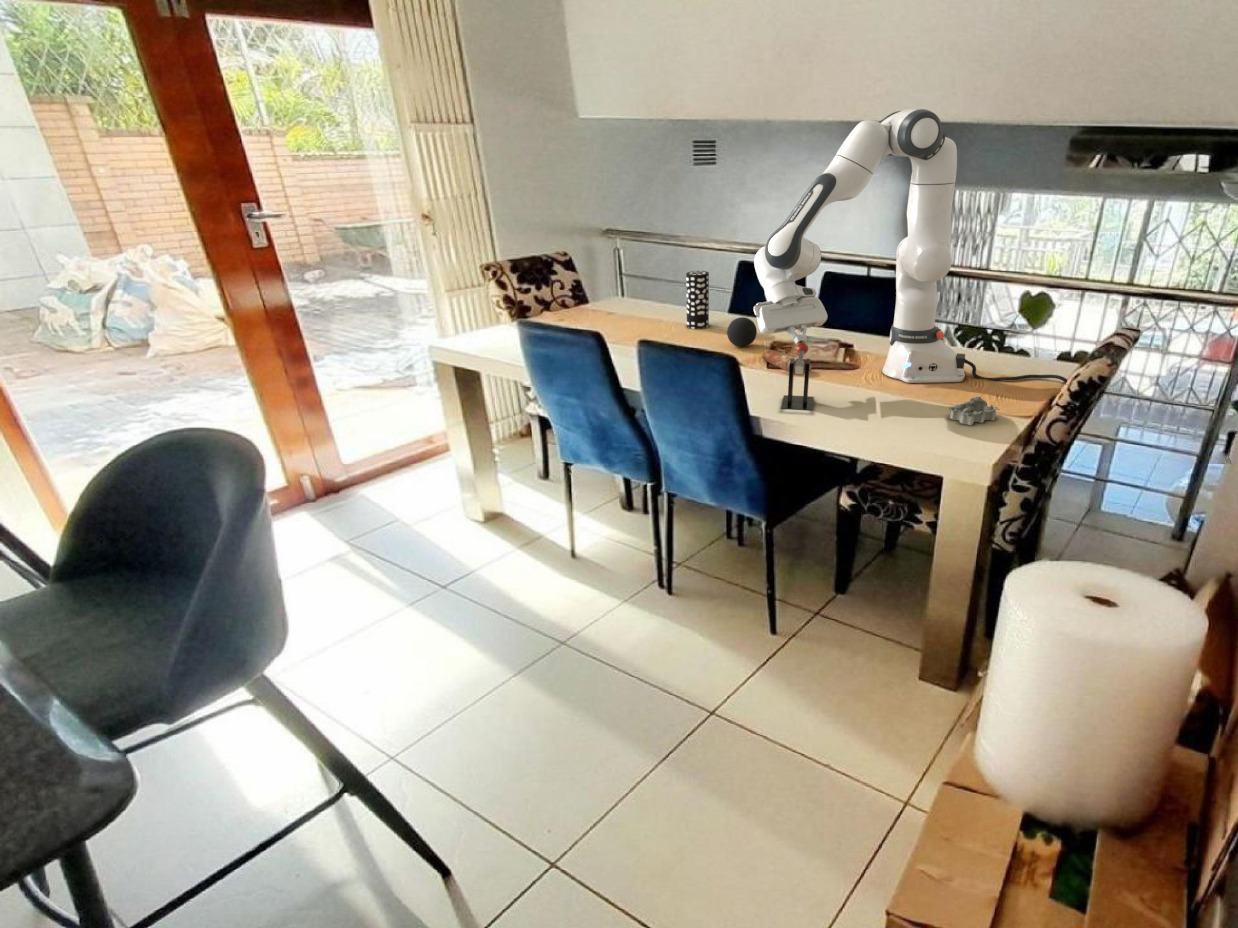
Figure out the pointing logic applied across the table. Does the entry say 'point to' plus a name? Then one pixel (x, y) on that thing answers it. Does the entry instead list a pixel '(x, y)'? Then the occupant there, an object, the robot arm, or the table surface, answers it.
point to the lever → (800, 358)
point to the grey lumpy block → (973, 411)
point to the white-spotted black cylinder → (697, 299)
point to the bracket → (798, 401)
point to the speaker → (741, 332)
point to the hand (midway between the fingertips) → (801, 342)
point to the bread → (780, 359)
